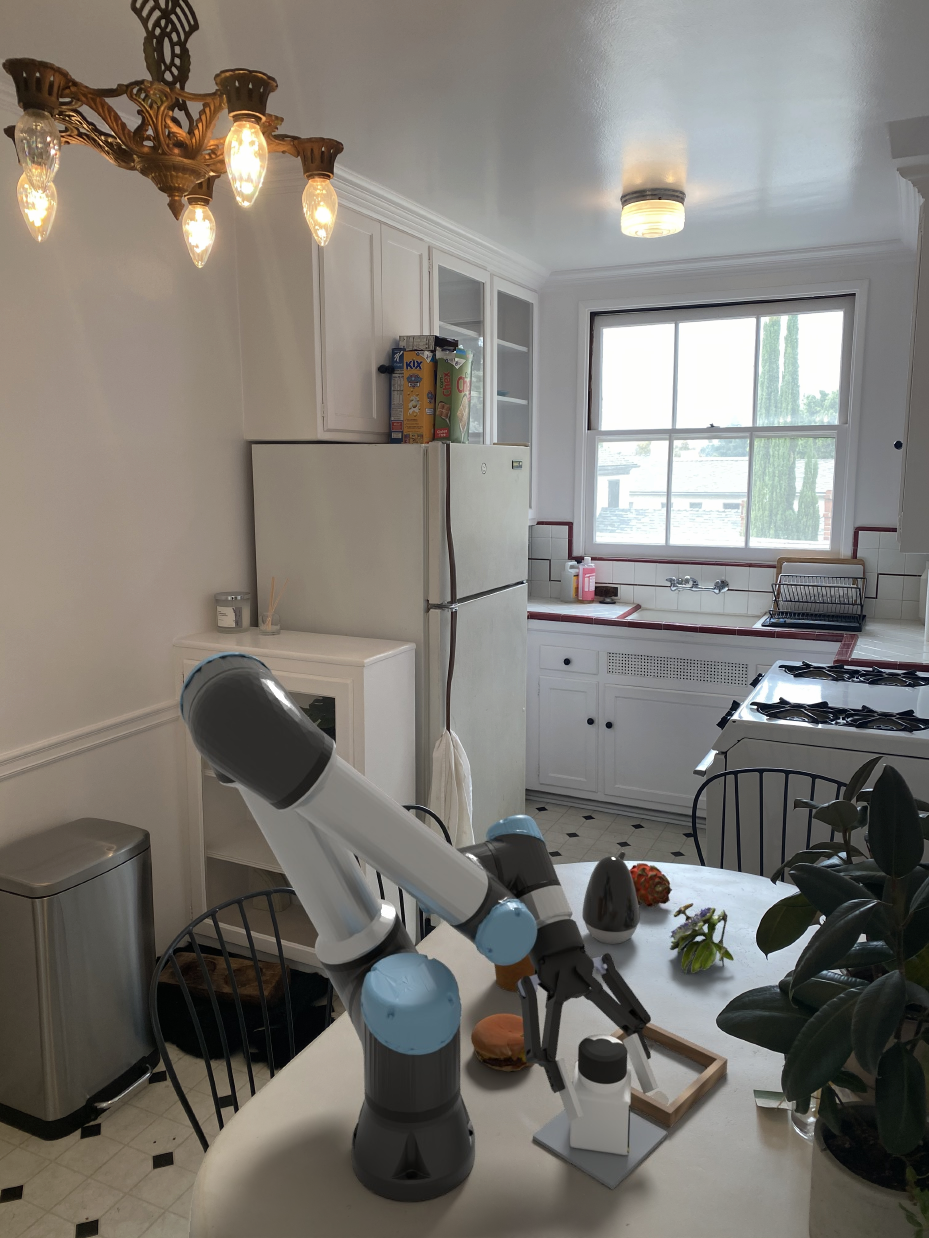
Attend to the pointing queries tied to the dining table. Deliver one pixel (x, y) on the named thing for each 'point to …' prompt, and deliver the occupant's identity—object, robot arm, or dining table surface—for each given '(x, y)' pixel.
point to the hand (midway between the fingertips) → (614, 1104)
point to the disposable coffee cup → (513, 973)
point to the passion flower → (706, 946)
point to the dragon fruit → (650, 885)
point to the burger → (500, 1042)
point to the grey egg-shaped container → (611, 901)
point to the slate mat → (598, 1163)
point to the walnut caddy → (693, 1091)
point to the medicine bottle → (602, 1096)
